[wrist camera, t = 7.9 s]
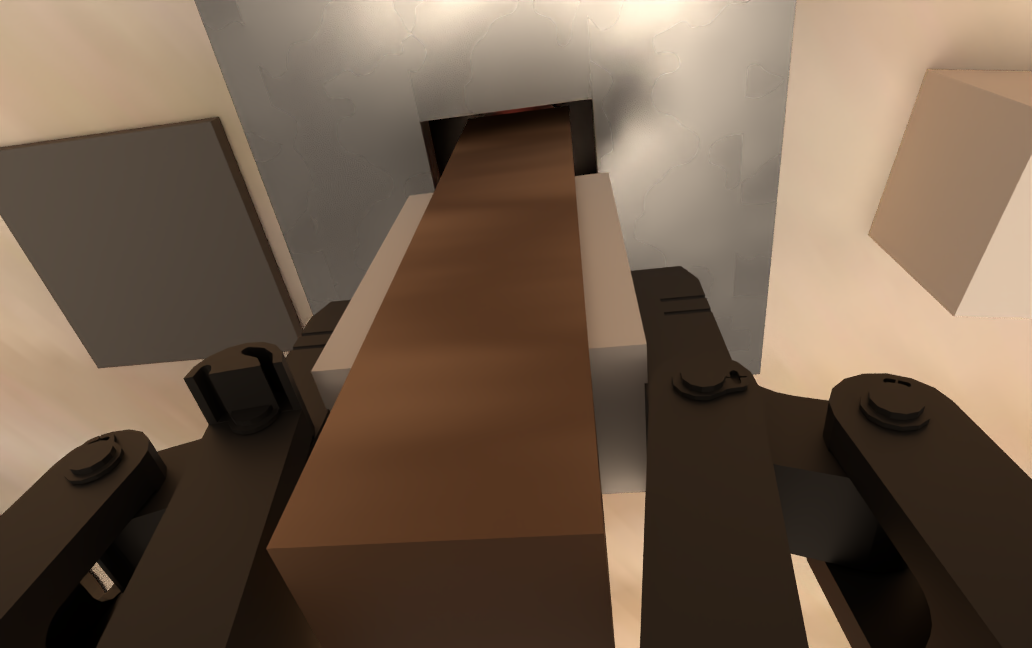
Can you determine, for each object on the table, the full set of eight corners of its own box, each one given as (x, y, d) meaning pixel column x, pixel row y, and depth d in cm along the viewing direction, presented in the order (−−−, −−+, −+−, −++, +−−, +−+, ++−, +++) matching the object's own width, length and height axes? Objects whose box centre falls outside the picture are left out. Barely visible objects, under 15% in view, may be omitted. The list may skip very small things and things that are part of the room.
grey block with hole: (386, 315, 26) (347, 406, 21) (272, -64, 19) (170, -63, 14) (717, 284, 25) (759, 373, 19) (736, -145, 17) (814, -178, 12)
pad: (106, 360, 28) (98, 368, 28) (-25, 151, 23) (-38, 155, 22) (307, 342, 27) (302, 349, 27) (218, 117, 22) (210, 121, 21)
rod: (484, 212, 20) (359, 713, 7) (468, 118, 18) (265, 548, 5) (577, 202, 19) (620, 711, 7) (568, 105, 18) (603, 533, 5)
